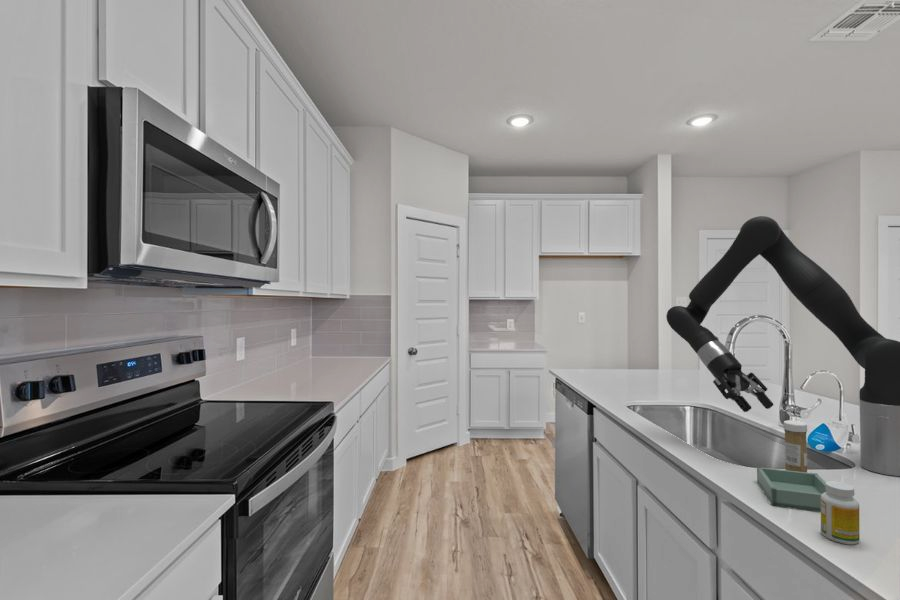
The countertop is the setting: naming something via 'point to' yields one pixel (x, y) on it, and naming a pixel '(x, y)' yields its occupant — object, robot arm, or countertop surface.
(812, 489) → the bin
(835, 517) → the supplement bottle
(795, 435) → the amber pill bottle
